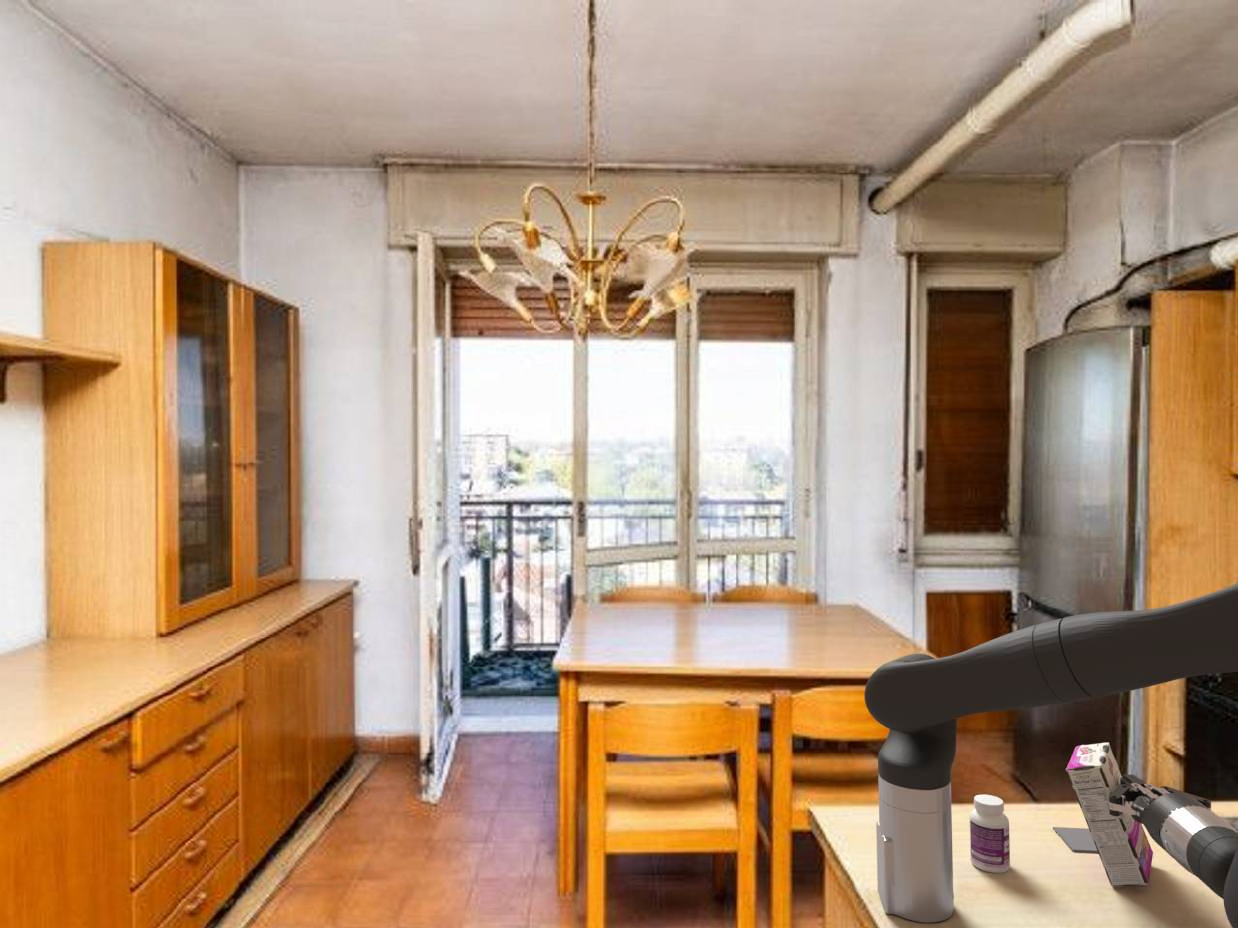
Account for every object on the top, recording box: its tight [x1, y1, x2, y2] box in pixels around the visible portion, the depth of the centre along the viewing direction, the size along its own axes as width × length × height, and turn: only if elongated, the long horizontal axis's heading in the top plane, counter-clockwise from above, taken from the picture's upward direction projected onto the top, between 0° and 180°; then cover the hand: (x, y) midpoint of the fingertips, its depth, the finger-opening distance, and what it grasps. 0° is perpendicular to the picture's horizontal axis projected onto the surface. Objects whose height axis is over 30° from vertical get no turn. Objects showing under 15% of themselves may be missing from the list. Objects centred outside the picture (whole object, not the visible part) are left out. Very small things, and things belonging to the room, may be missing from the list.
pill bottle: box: [969, 794, 1011, 874], centre depth 115 cm, size 5×5×10 cm
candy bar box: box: [1065, 742, 1154, 888], centre depth 113 cm, size 11×5×16 cm, turn 143°
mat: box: [1052, 826, 1099, 854], centre depth 121 cm, size 11×8×1 cm
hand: (1127, 781), depth 113 cm, fingers closed
